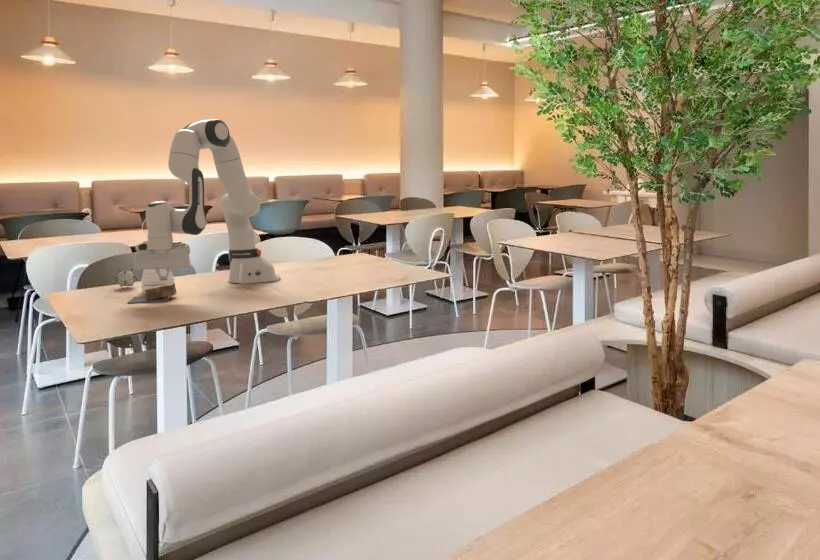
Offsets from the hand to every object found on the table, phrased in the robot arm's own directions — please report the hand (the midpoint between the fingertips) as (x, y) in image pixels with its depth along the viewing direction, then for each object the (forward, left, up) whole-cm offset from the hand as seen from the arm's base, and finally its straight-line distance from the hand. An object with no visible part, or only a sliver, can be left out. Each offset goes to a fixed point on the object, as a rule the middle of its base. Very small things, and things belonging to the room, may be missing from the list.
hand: (164, 280), depth 244 cm
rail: (-1, 0, -7) cm, 7 cm away
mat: (+7, 0, -7) cm, 10 cm away
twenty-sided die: (+21, -32, -7) cm, 39 cm away
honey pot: (+6, -19, -8) cm, 21 cm away
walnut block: (-3, 0, -4) cm, 5 cm away
